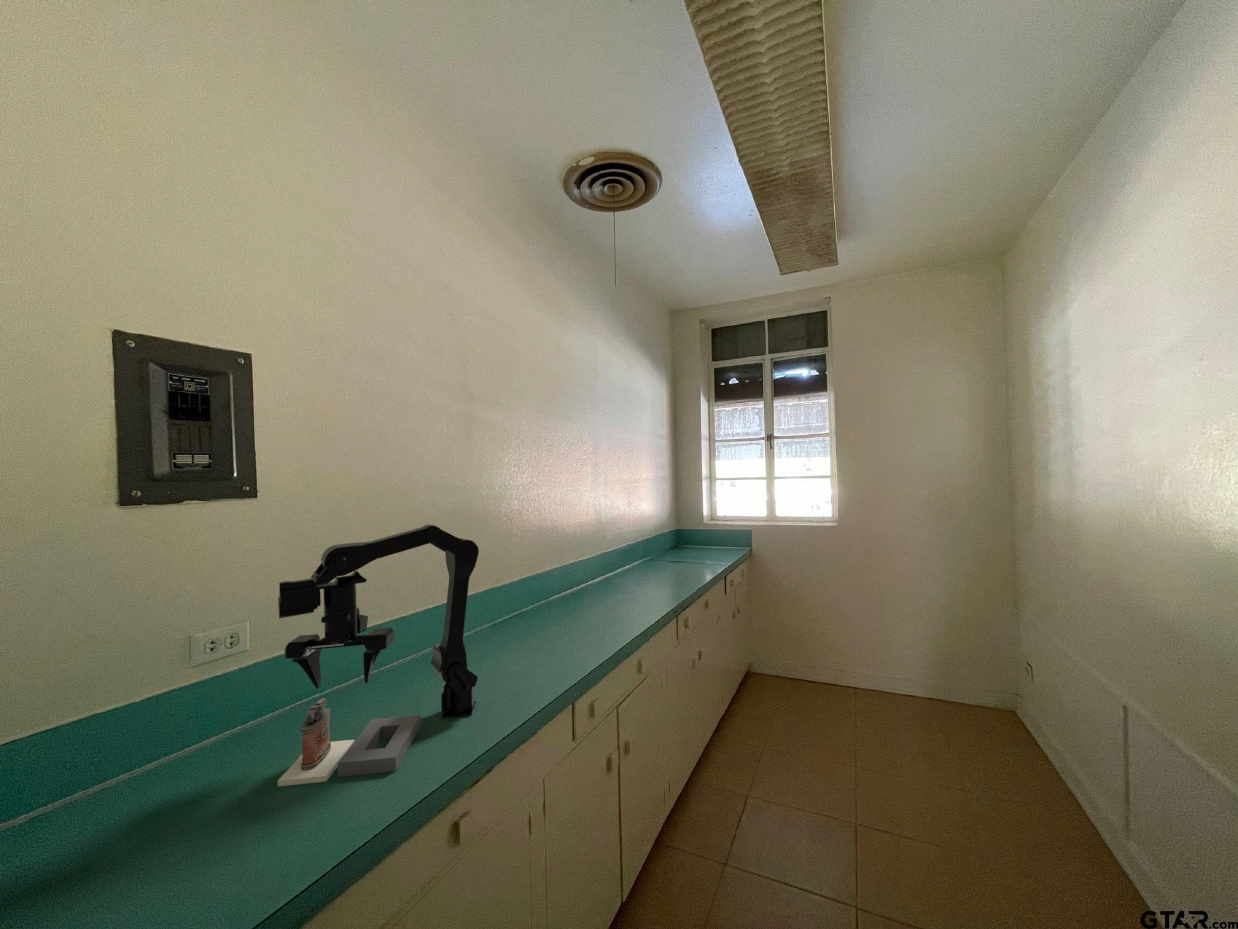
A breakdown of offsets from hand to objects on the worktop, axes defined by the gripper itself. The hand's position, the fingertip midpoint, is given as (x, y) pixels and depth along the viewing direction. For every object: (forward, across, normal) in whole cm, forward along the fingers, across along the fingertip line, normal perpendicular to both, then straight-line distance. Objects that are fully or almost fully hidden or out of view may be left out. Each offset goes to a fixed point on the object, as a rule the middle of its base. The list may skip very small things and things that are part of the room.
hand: (343, 685), depth 96 cm
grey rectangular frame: (+13, -8, +2) cm, 15 cm away
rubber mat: (+12, +3, +5) cm, 14 cm away
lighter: (+12, +3, +5) cm, 13 cm away
